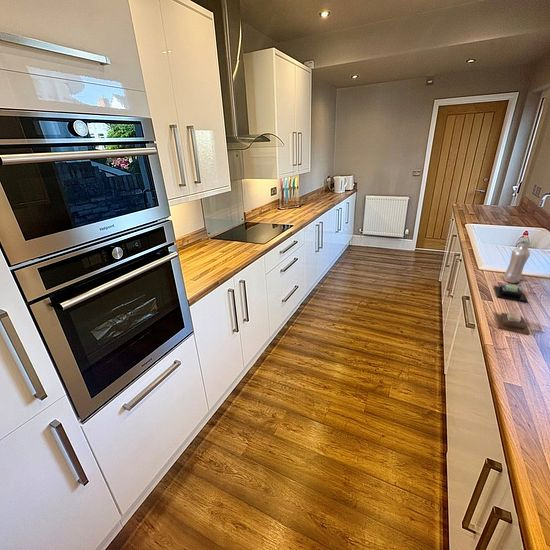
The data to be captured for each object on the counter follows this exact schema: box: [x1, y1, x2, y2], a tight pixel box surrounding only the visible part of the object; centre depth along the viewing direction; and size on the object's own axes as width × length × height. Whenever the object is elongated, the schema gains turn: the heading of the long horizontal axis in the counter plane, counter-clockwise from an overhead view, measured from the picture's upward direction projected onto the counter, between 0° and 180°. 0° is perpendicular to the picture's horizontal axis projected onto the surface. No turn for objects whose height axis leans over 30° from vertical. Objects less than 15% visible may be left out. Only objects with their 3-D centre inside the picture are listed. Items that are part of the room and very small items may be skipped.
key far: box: [505, 283, 519, 292], centre depth 127 cm, size 4×4×2 cm
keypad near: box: [494, 312, 531, 336], centre depth 108 cm, size 9×9×3 cm
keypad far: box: [493, 284, 527, 304], centre depth 128 cm, size 10×10×3 cm
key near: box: [506, 312, 521, 323], centre depth 107 cm, size 3×3×2 cm
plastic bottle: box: [502, 241, 531, 284], centre depth 136 cm, size 6×7×20 cm
